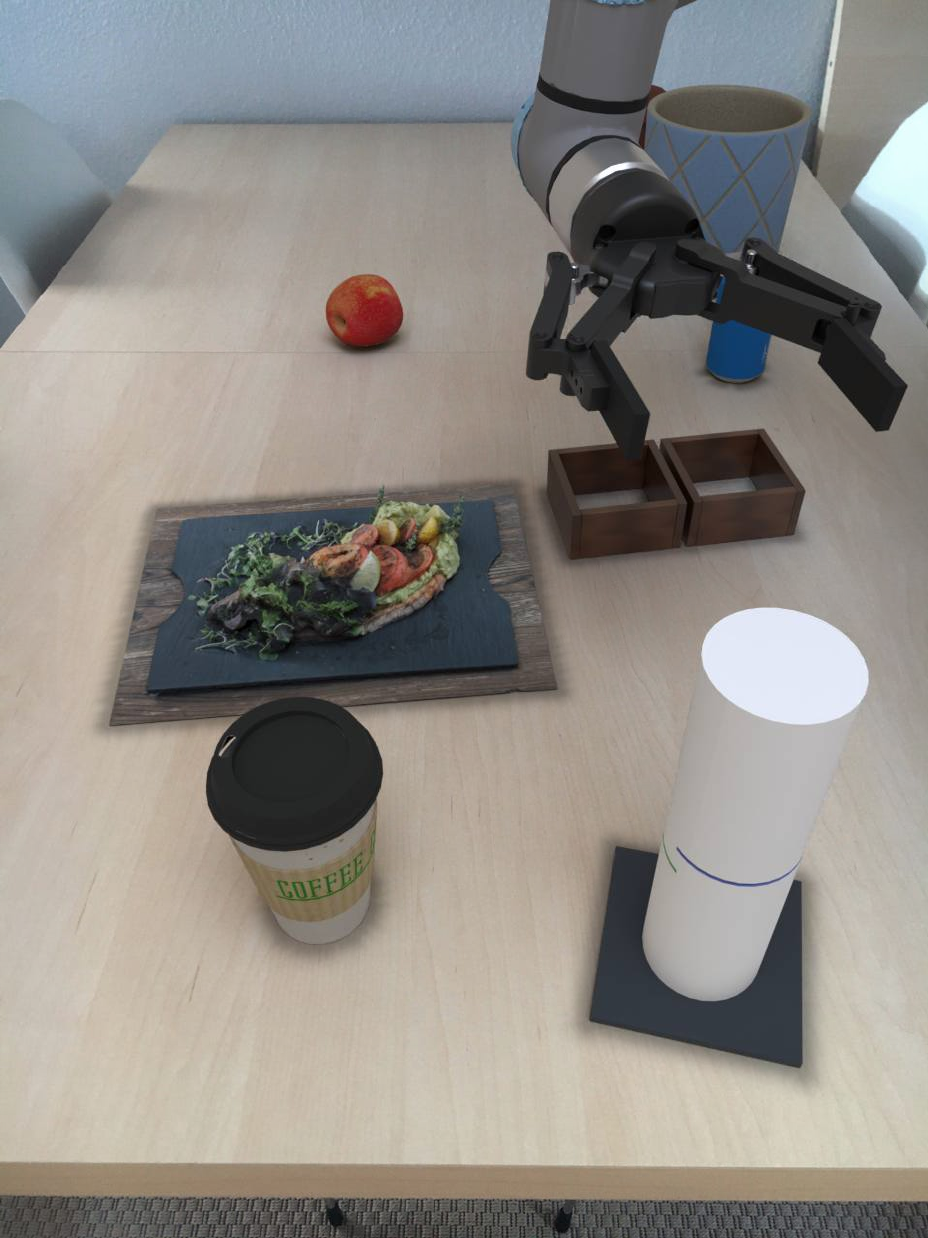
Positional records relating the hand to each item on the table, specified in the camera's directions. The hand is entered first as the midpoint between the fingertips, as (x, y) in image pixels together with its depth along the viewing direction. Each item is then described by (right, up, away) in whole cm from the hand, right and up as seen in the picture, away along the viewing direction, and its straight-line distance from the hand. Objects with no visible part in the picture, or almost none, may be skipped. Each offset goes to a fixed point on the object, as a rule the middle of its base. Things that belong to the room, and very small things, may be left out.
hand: (768, 423), depth 49 cm
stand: (+4, 0, +45) cm, 45 cm away
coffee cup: (-24, -28, +16) cm, 40 cm away
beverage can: (+16, +18, +63) cm, 68 cm away
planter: (+17, +36, +83) cm, 92 cm away
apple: (-27, +23, +70) cm, 78 cm away
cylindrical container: (0, -30, +12) cm, 32 cm away
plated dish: (-26, -7, +38) cm, 46 cm away
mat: (0, -30, +12) cm, 33 cm away
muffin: (+14, +67, +115) cm, 134 cm away
